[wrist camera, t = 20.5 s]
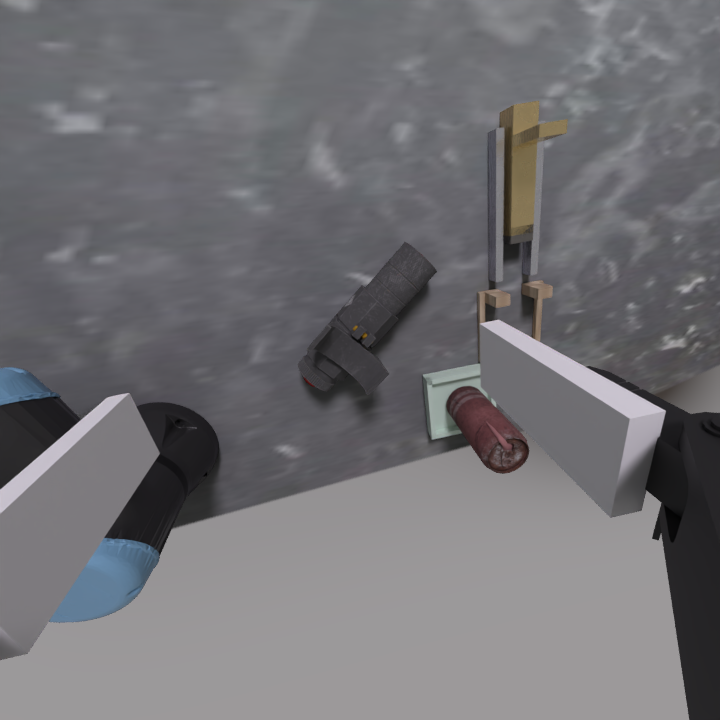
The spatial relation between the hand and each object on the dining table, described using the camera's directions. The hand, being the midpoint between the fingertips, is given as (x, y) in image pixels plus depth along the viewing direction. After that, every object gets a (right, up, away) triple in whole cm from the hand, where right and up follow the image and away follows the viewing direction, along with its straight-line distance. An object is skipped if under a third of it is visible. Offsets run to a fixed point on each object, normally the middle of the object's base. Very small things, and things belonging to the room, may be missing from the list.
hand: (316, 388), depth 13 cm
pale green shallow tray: (+18, -5, +42) cm, 46 cm away
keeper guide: (+22, +21, +32) cm, 44 cm away
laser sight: (+2, +7, +35) cm, 36 cm away
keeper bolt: (+21, +25, +30) cm, 44 cm away
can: (+18, -5, +42) cm, 46 cm away
